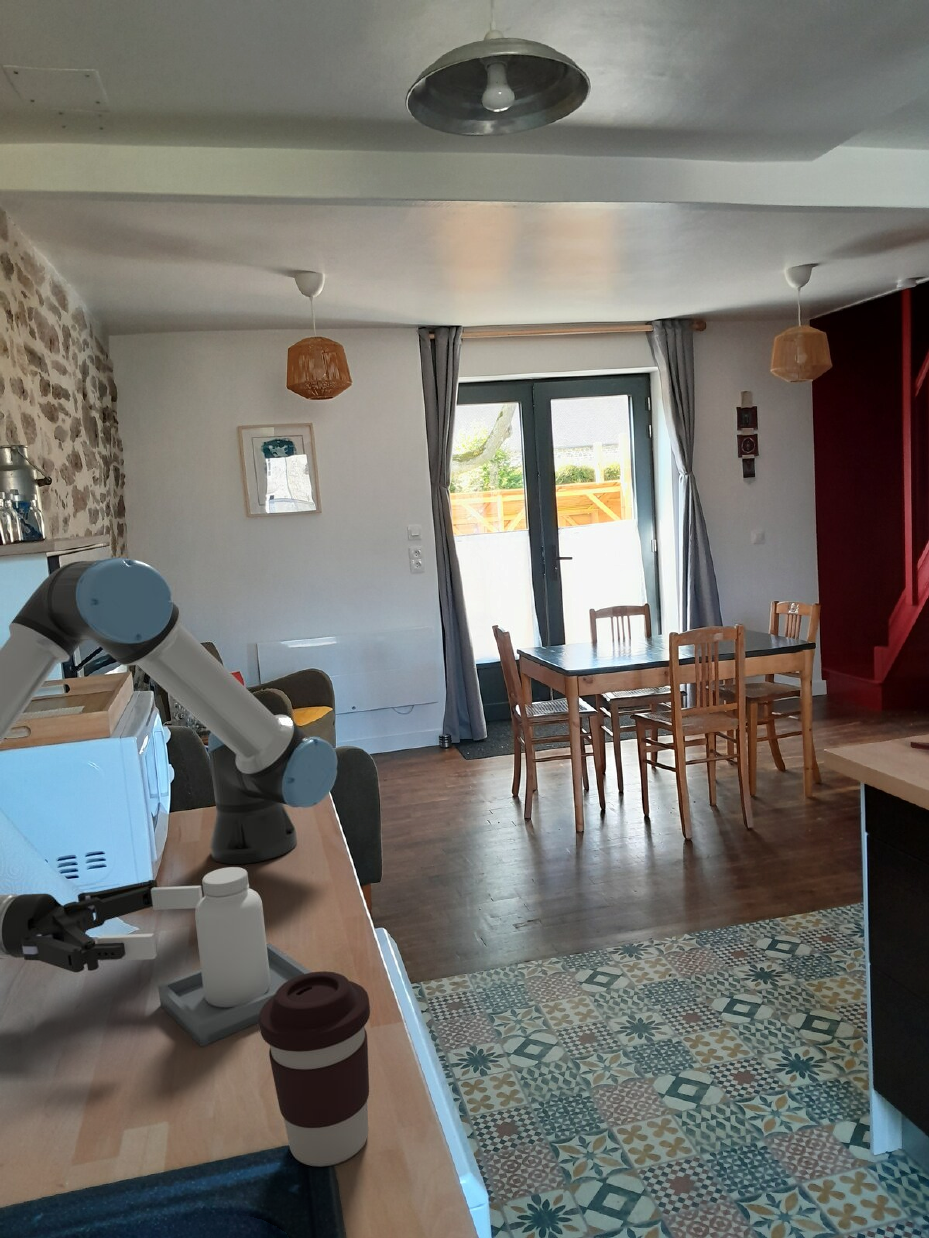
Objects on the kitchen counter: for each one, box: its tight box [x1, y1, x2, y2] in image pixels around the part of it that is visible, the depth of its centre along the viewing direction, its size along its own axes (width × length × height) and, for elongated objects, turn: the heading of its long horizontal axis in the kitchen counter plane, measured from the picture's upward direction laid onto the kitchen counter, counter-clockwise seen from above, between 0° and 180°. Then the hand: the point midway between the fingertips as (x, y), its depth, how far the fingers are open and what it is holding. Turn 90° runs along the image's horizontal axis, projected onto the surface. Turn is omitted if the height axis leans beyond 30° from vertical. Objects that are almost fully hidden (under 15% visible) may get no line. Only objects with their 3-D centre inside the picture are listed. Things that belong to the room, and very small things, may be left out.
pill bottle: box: [194, 866, 270, 1007], centre depth 112 cm, size 8×8×15 cm
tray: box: [157, 942, 312, 1048], centre depth 113 cm, size 15×13×2 cm
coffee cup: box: [258, 970, 371, 1167], centre depth 85 cm, size 10×10×15 cm
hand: (179, 919), depth 113 cm, fingers open, 13 cm apart
